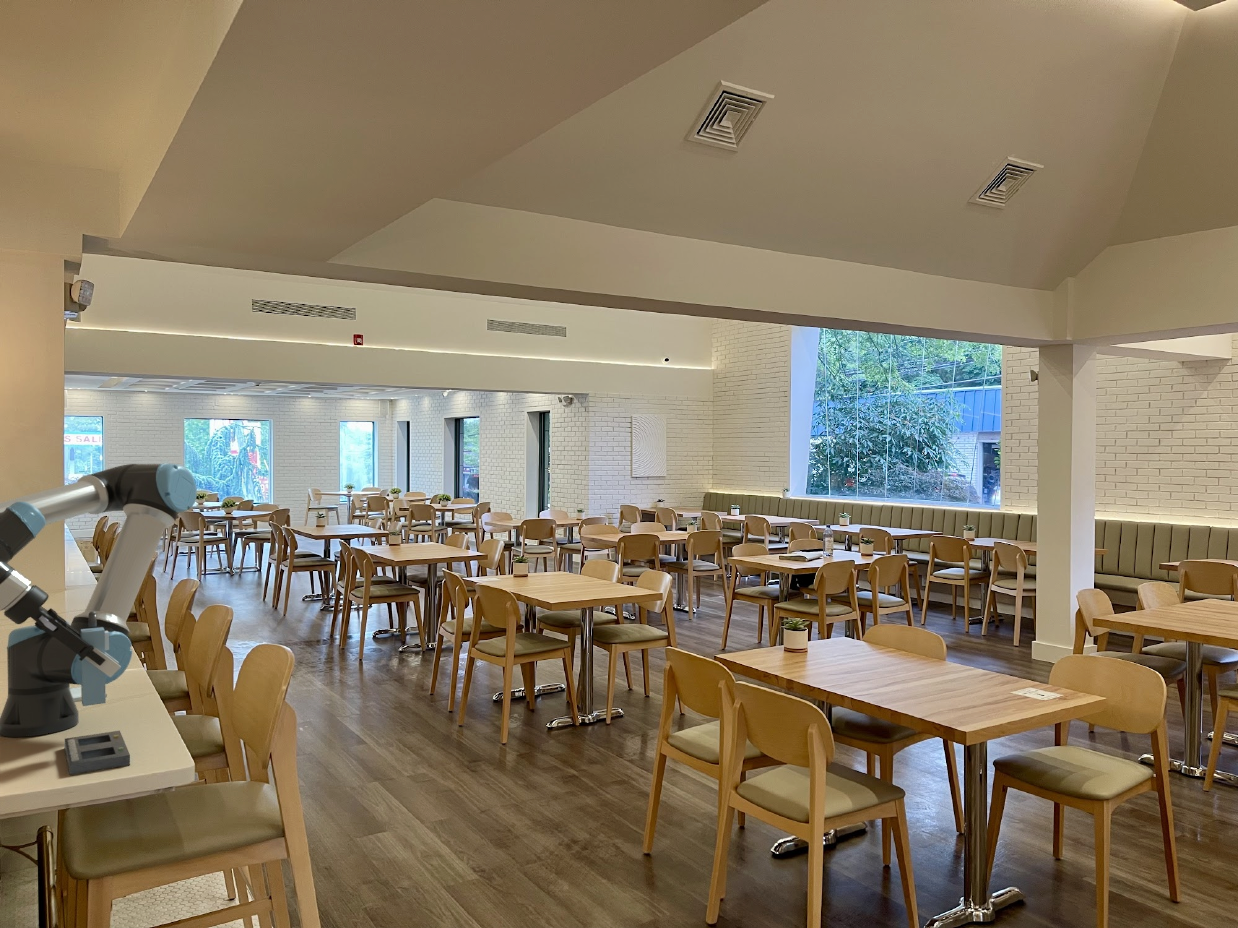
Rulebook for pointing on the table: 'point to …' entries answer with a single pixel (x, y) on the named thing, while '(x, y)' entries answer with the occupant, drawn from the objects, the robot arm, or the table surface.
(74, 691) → the hard drive
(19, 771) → the table surface
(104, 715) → the table surface
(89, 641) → the plug
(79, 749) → the port panel
